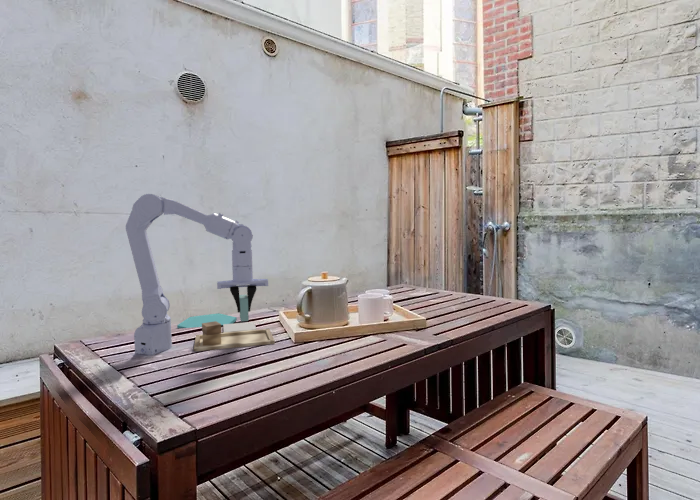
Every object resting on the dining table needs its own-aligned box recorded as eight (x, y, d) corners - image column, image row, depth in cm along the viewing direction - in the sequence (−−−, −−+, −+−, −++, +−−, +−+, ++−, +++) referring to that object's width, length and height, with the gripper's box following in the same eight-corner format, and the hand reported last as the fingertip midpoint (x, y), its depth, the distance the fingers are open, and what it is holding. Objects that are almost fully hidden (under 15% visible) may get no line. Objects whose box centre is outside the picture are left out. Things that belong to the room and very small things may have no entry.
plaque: (220, 336, 144) (241, 318, 163) (220, 330, 143) (241, 313, 163) (169, 335, 145) (196, 317, 165) (169, 329, 145) (196, 312, 165)
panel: (240, 321, 127) (240, 299, 126) (239, 315, 134) (239, 294, 133) (248, 320, 128) (247, 298, 127) (247, 315, 134) (246, 294, 134)
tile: (223, 338, 137) (223, 332, 137) (223, 330, 146) (223, 324, 146) (256, 335, 140) (256, 329, 139) (254, 327, 149) (254, 321, 149)
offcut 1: (206, 335, 125) (206, 326, 125) (202, 331, 129) (201, 323, 129) (221, 332, 128) (221, 324, 127) (216, 329, 131) (216, 321, 131)
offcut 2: (203, 345, 125) (202, 335, 125) (203, 340, 130) (203, 331, 130) (221, 344, 127) (220, 333, 127) (221, 339, 132) (220, 329, 131)
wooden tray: (194, 355, 121) (193, 348, 120) (196, 341, 134) (196, 334, 134) (274, 347, 127) (274, 340, 127) (269, 334, 140) (269, 328, 140)
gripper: (216, 268, 123) (218, 316, 125) (268, 266, 127) (270, 312, 129) (216, 265, 130) (218, 310, 131) (266, 263, 134) (267, 307, 135)
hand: (243, 311), depth 130 cm, fingers closed on panel, 2 cm apart
